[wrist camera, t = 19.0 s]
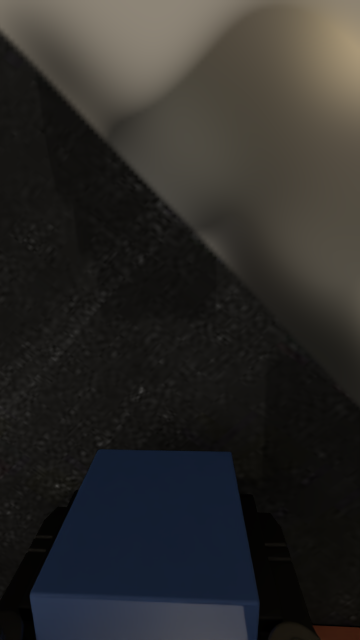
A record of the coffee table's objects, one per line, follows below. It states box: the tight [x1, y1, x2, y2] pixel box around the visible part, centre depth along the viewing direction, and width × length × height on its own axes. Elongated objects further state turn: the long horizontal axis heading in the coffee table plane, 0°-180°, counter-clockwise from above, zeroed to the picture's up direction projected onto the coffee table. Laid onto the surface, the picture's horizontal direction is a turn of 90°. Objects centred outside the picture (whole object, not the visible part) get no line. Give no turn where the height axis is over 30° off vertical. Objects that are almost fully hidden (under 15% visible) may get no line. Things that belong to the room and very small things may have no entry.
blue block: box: [30, 449, 260, 640], centre depth 9 cm, size 4×4×4 cm
